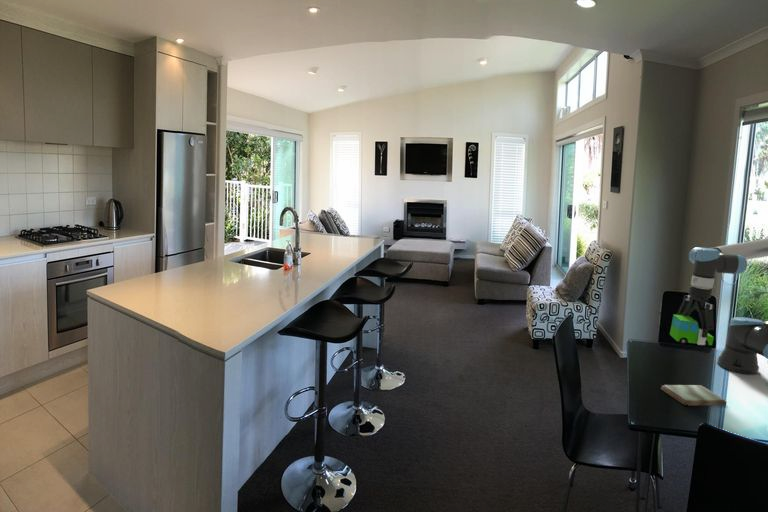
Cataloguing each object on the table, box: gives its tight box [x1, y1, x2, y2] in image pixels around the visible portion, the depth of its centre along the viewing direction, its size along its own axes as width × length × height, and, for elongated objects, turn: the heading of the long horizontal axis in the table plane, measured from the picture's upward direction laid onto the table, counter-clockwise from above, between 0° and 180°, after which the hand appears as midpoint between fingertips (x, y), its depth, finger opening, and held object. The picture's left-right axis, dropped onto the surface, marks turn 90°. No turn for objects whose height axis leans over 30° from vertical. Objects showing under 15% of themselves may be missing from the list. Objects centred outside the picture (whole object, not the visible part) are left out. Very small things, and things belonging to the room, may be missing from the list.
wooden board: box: [660, 384, 727, 406], centre depth 188 cm, size 17×13×2 cm
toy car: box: [669, 314, 715, 348], centre depth 198 cm, size 10×13×10 cm
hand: (690, 339), depth 199 cm, fingers closed on toy car, 10 cm apart
